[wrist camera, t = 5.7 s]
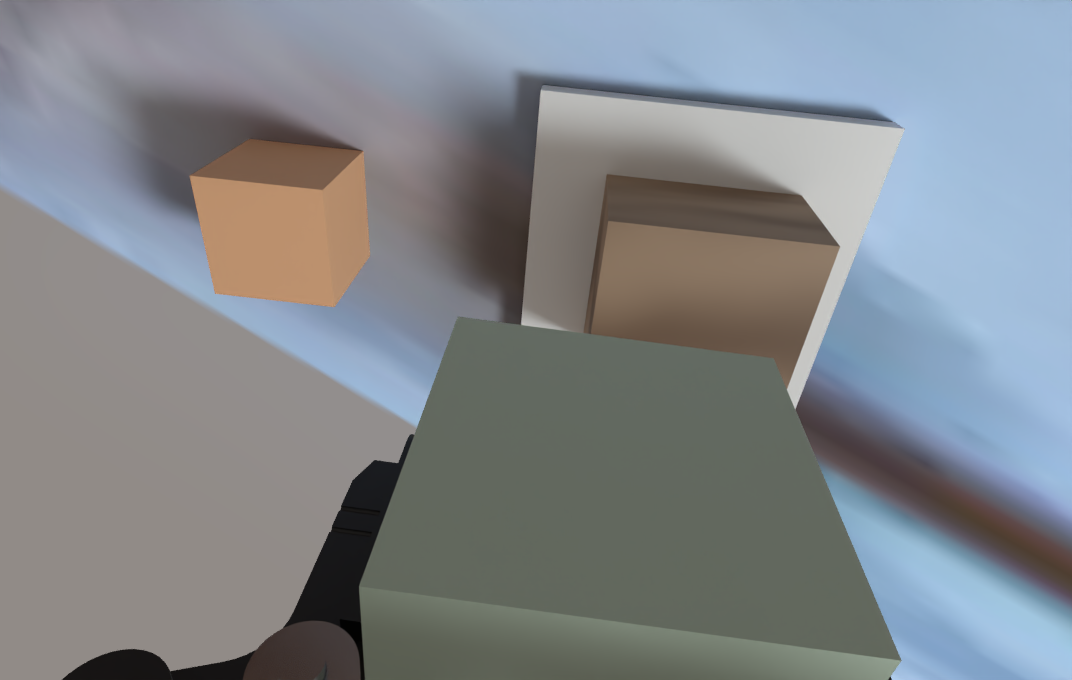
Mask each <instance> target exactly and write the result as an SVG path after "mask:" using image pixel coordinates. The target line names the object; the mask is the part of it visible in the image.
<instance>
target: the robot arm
mask: <svg viewBox="0 0 1072 680" xmlns="http://www.w3.org/2000/svg"><path fill="white" fill-rule="evenodd" d="M413 438H414V435H413V434H411V435H410V436H409V437H408V440H407V442H406V444H405V447H404V450H403V452H402V455H401V458H400V460H399V463H392V462H384V461H377V460H374V461H373V462H372V463H371V464H370V465H369V466H368V467H367V468H366V469H365V470H363V471H362V472H361V473H360V474H359V475H358V476H357V477H356V478H355V479H354V480H353V481H352V483H351V485H350V488H349V490H348V492H347V494H346V496H345V499H344V501H343V503H342V505H341V510H340V511H339V512H338V514H337V517H336V519H335V521H334V523H333V525H332V530H331V532H329V534H328V536H327V539H326V541H325V543H324V545H323V548H322V550H321V552H320V554H319V556H318V559H317V561H316V563H315V565H314V568H313V570H312V572H311V574H310V577H309V579H308V581H307V583H306V585H305V588H304V590H303V592H302V594H301V596H300V599H299V601H298V603H297V606H296V608H295V610H294V612H293V614H292V616H291V617H290V619H289V621H288V622H287V623H286V625H285V626H284V627H283V629H281V630H280V631H277V632H276V633H274V634H273V635H272V636H270V637H269V638H268V639H266V640H265V641H264V642H263V643H262V644H261V645H260V646H259V647H258V649H257V650H255V651H253V652H251V653H249V654H247V655H245V656H242V657H239V658H237V659H233V660H230V661H225V662H220V663H214V664H209V665H203V666H198V667H192V668H186V669H181V670H176V671H170V670H169V669H168V667H167V665H166V663H165V662H164V661H163V660H162V659H161V658H160V657H158V656H157V655H155V654H153V653H151V652H148V651H144V650H137V649H128V650H120V651H114V652H110V653H107V654H104V655H101V656H99V657H96V658H94V659H92V660H90V661H88V662H86V663H84V664H83V665H81V666H79V667H78V668H76V669H75V670H74V671H72V672H71V673H69V674H68V675H67V676H66V677H65V678H63V680H365V672H364V657H363V641H362V626H361V610H360V595H359V585H360V582H361V579H362V577H363V574H364V571H365V569H366V566H367V563H368V560H369V558H370V555H371V552H372V549H373V547H374V544H375V541H376V539H377V536H378V533H379V530H380V528H381V525H382V522H383V519H384V517H385V514H386V511H387V509H388V506H389V503H390V500H391V498H392V495H393V492H394V489H395V487H396V484H397V481H398V478H399V476H400V473H401V470H402V468H403V465H404V462H405V459H406V457H407V454H408V451H409V448H410V446H411V443H412V440H413ZM888 680H892V679H891V677H890V678H889V679H888Z"/></svg>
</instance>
